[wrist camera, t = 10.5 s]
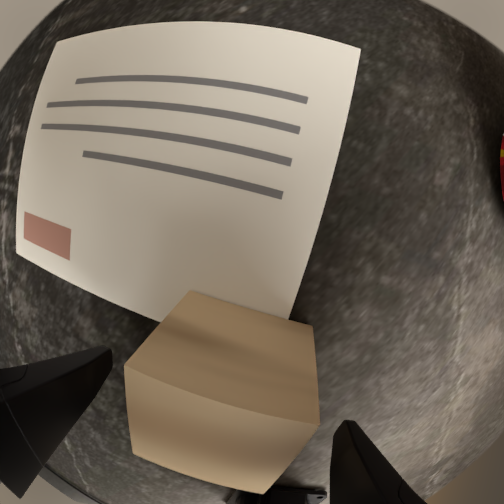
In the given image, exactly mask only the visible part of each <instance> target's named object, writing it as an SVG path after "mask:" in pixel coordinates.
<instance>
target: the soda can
mask: <svg viewBox="0 0 504 504" xmlns="http://www.w3.org/2000/svg"><path fill="white" fill-rule="evenodd" d="M500 174H501V186H502V194H503V200H504V134H503V138H502V144H501V154H500Z"/></svg>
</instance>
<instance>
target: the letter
mask: <svg viewBox="0 0 504 504" xmlns="http://www.w3.org/2000/svg"><path fill="white" fill-rule="evenodd" d="M360 51H361V49H359V48H356V47H353V46H350V45H346V44H343V43H340V42H336V41H333V40H329V39H326V38H322V37H318V36H314V35H309V34H305V33H300V32H296V31H290V30H285V29H279V28H273V27H266V26H259V25H251V24H241V23H228V22H203V21H188V22H163V23H150V24H141V25H132V26H125V27H119V28H113V29H107V30H102V31H97V32H92V33H88V34H84V35H80V36H76V37H72V38H69V39H65V40H62V41H58V42H57V43H56V46H55V48H54V50H53V52H52V55H51V57H50V60H49V62H48V65H47V67H46V70H45V73H44V76H43V78H42V81H41V84H40V87H39V90H38V93H37V97H36V100H35V103H34V107H33V111H32V114H31V118H30V122H29V127H28V131H27V136H26V140H25V146H24V151H23V157H22V163H21V170H20V178H19V187H18V198H17V215H16V253H17V254H19V255H21V256H22V257H24V258H26V259H27V260H29V261H31V262H33V263H34V264H36V265H38V266H40V267H42V268H43V269H45V270H47V271H49V272H51V273H53V274H55V275H56V276H58V277H60V278H62V279H64V280H66V281H68V282H70V283H72V284H74V285H76V286H78V287H80V288H82V289H84V290H86V291H89V292H91V293H93V294H95V295H97V296H99V297H101V298H104V299H106V300H108V301H110V302H113V303H115V304H117V305H119V306H122V307H124V308H126V309H129V310H131V311H134V312H136V313H138V314H141V315H143V316H146V317H148V318H151V319H153V320H156V321H159V322H162V321H163V320H164V318H165V317H166V316H167V315H168V314H169V313H170V312H171V310H172V309H173V308H174V307H175V306H176V305H177V304H178V303H179V301H180V300H181V299H182V298H183V297H184V296H185V295H186V294H187V293H188V291H189V290H191V291H194V292H197V293H200V294H203V295H206V296H209V297H213V298H216V299H219V300H222V301H225V302H229V303H232V304H235V305H239V306H242V307H245V308H249V309H252V310H256V311H259V312H263V313H266V314H270V315H273V316H277V317H280V318H284V319H288V318H289V315H290V313H291V310H292V307H293V304H294V301H295V298H296V295H297V292H298V289H299V286H300V283H301V280H302V277H303V274H304V271H305V268H306V265H307V262H308V259H309V256H310V252H311V249H312V246H313V243H314V240H315V236H316V233H317V230H318V226H319V223H320V220H321V216H322V213H323V209H324V206H325V202H326V199H327V195H328V191H329V188H330V184H331V180H332V177H333V173H334V169H335V165H336V161H337V158H338V154H339V150H340V146H341V141H342V137H343V133H344V129H345V125H346V120H347V116H348V111H349V107H350V102H351V98H352V93H353V88H354V83H355V78H356V73H357V68H358V62H359V57H360Z"/></svg>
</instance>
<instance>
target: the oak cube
mask: <svg viewBox="0 0 504 504" xmlns="http://www.w3.org/2000/svg"><path fill="white" fill-rule="evenodd" d="M124 376H125V391H126V403H127V413H128V422H129V430H130V437H131V444H132V450H133V454H135V455H138V456H140V457H142V458H144V459H147V460H149V461H151V462H154V463H156V464H158V465H161V466H163V467H166V468H169V469H171V470H174V471H177V472H179V473H182V474H185V475H188V476H191V477H194V478H198V479H201V480H204V481H207V482H211V483H215V484H218V485H222V486H226V487H230V488H235V489H239V490H244V491H249V492H254V493H259V494H264V493H265V492H266V491H267V490H268V489H269V488H270V487H271V486H272V484H273V483H274V482H275V481H276V480H277V479H278V478H279V477H280V475H281V474H282V473H283V472H284V471H285V470H286V468H287V467H288V466H289V465H290V464H291V462H292V461H293V460H294V459H295V458H296V456H297V455H298V454H299V452H300V451H301V450H302V449H303V447H304V446H305V445H306V443H307V442H308V441H309V439H310V438H311V437H312V435H313V434H314V433H315V431H316V430H317V429H318V427H319V426H320V415H319V397H318V382H317V369H316V357H315V345H314V335H313V326H311V325H307V324H303V323H299V322H295V321H292V320H288V319H284V318H280V317H277V316H273V315H270V314H266V313H263V312H259V311H256V310H252V309H249V308H245V307H242V306H239V305H235V304H232V303H229V302H225V301H222V300H219V299H216V298H213V297H209V296H206V295H203V294H200V293H197V292H194V291H191V290H189V291H188V293H187V294H186V295H185V296H184V297H183V298H182V299H181V300H180V301H179V303H178V304H177V305H176V306H175V307H174V308H173V309H172V310H171V312H170V313H169V314H168V315H167V316H166V317H165V318H164V320H163V321H162V322H161V323H160V324H159V325H158V326H157V327H156V329H155V330H154V331H153V332H152V333H151V334H150V335H149V337H148V338H147V339H146V340H145V341H144V342H143V343H142V345H141V346H140V347H139V348H138V349H137V350H136V352H135V353H134V354H133V355H132V356H131V357H130V358H129V360H128V361H127V362H126V363H125V364H124Z"/></svg>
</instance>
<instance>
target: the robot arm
mask: <svg viewBox="0 0 504 504" xmlns="http://www.w3.org/2000/svg"><path fill="white" fill-rule="evenodd" d="M112 366H113V362H112V350H111V349H109V348H107V347H105V346H103V345H102V346H98V347H94V348H90V349H86V350H83V351H79V352H75V353H71V354H67V355H63V356H59V357H55V358H51V359H47V360H43V361H39V362H35V363H30V364H29V365H28V364H26V365H21V366H16V367H11V368H4V369H0V484H1V483H3V484H4V485H5V486H6V487H7V488H8V489H9V490H11V491H12V492H13V493H14V494H15V495H16V496H17V497H18V498H22V496H23V495H24V494H25V492H26V491H27V489H28V488H29V486H30V485H31V483H32V482H33V481H34V479H35V478H36V476H37V475H38V473H39V472H40V471H41V469H42V468H43V466H44V465H45V463H46V462H47V461H48V459H49V458H50V457H51V455H52V454H53V452H54V451H55V450H56V448H57V447H58V446H59V444H60V443H61V442H62V440H63V439H64V437H65V436H66V435H67V433H68V432H69V431H70V429H71V428H72V427H73V425H74V424H75V423H76V422H77V420H78V419H79V418H80V416H81V415H82V414H83V412H84V411H85V410H86V408H87V407H88V406H89V405H90V403H91V402H92V401H93V399H94V398H95V396H96V395H97V393H98V392H99V390H100V388H101V386H102V385H103V383H104V381H105V380H106V378H107V376H108V375H109V373H110V371H111V370H112ZM326 498H327V492H326V491H316V490H303V489H294V488H286V487H278V486H271V487H270V488H269V489H268V490H267V491H266V492H265V493H264V494H259V493H254V492H249V491H244V490H239V489H235V491H234V492H233V494H232V495H231V497H230V498H229V500H228V501H227V503H226V504H319V503H320V502H322V501H323V500H324V499H326ZM330 504H427V503H426V502H425V501H424V500H422V499H421V498H420V497H419V496H418V495H417V494H416V493H415V492H414V491H413V490H412V488H411V487H410V486H409V485H408V484H407V483H406V482H405V481H404V479H402V477H401V476H400V475H399V474H398V472H397V471H396V470H395V469H394V468H393V466H392V465H391V464H390V463H389V462H388V461H387V459H386V458H385V457H384V456H383V455H382V453H381V452H380V451H379V450H378V448H377V447H376V446H375V445H374V444H373V442H372V441H371V440H370V439H369V438H368V436H367V435H366V434H365V433H364V431H363V430H362V429H361V428H360V427H359V425H358V424H357V423H356V422H355V421H353V420H344V421H343V422H342V423H341V425H340V426H339V428H338V429H337V430H336V432H335V434H334V436H333V446H332V455H331V464H330Z"/></svg>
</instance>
